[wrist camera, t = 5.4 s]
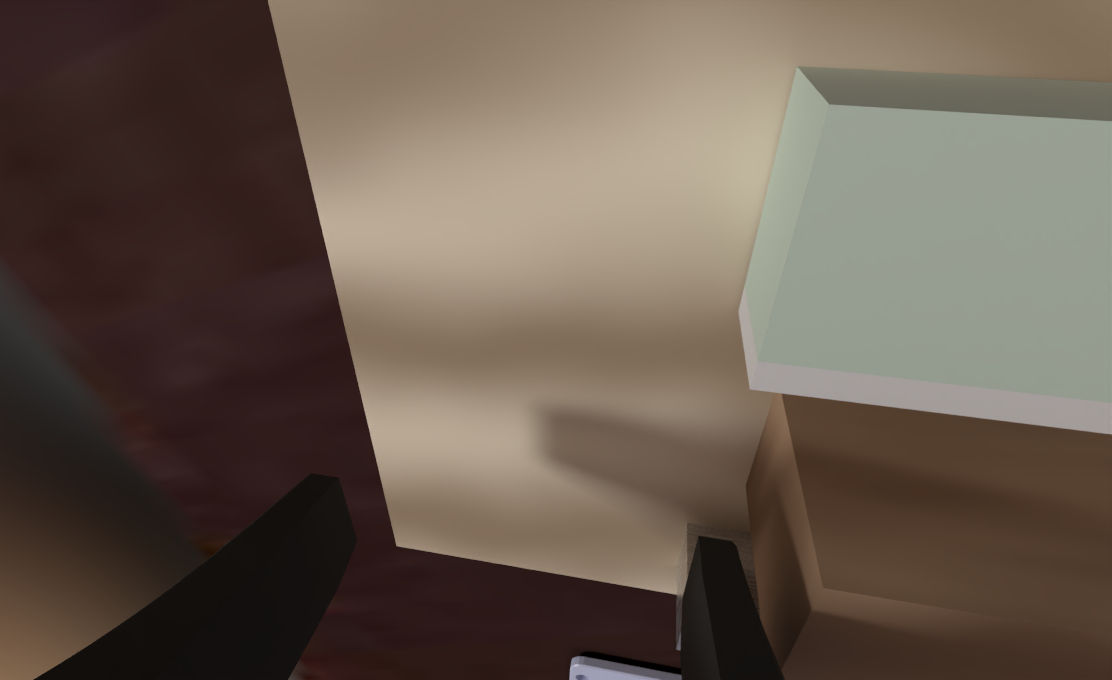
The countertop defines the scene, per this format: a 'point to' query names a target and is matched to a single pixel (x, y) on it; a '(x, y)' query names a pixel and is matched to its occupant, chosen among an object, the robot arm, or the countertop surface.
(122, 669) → the robot arm
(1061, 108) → the block
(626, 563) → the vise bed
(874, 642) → the block
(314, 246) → the countertop surface
